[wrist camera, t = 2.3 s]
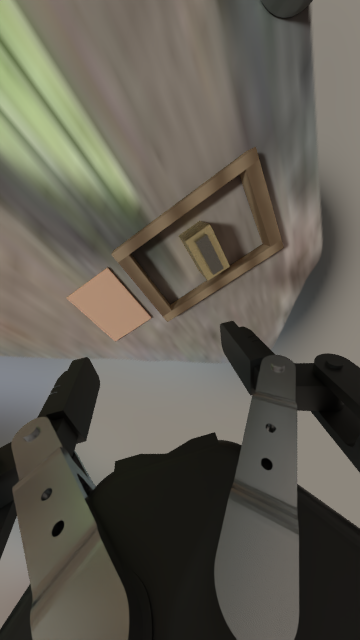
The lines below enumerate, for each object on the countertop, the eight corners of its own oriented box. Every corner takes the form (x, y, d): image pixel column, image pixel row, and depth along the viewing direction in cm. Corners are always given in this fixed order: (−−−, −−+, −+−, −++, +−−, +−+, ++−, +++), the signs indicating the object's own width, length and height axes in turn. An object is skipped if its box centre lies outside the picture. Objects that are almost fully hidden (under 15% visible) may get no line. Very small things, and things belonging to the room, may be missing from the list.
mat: (107, 267, 32) (107, 267, 32) (151, 317, 38) (151, 318, 38) (67, 297, 33) (66, 298, 33) (115, 340, 39) (115, 341, 39)
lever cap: (199, 220, 31) (211, 224, 25) (217, 257, 34) (232, 267, 29) (178, 235, 31) (186, 242, 26) (198, 270, 35) (209, 282, 30)
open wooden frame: (246, 151, 27) (255, 146, 25) (275, 244, 35) (283, 247, 33) (113, 250, 31) (111, 254, 29) (165, 315, 38) (167, 322, 36)
